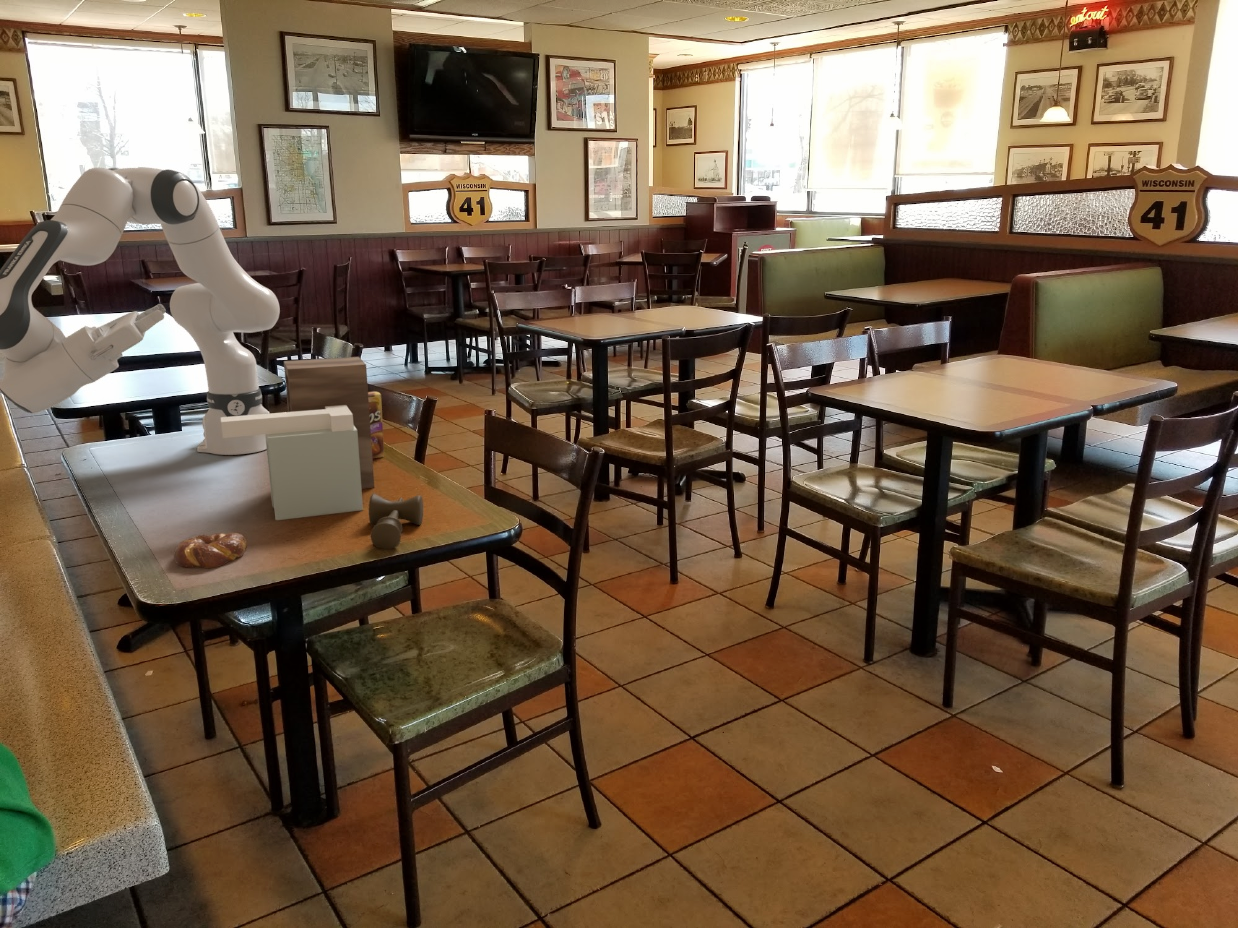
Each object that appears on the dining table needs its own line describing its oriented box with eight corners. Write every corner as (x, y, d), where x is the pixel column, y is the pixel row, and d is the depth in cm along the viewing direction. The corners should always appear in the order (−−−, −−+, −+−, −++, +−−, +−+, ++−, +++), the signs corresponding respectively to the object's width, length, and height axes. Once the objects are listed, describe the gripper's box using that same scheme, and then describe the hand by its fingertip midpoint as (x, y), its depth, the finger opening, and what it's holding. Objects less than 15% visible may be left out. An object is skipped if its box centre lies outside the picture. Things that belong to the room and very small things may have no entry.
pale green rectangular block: (272, 504, 186) (264, 425, 181) (355, 495, 192) (349, 418, 188) (276, 520, 177) (267, 437, 173) (362, 509, 183) (357, 430, 179)
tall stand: (294, 482, 200) (283, 361, 193) (366, 474, 206) (358, 356, 199) (299, 495, 191) (287, 369, 184) (374, 487, 197) (366, 364, 190)
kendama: (357, 553, 163) (376, 512, 182) (413, 553, 164) (427, 513, 183) (355, 521, 161) (375, 483, 180) (412, 521, 162) (426, 483, 181)
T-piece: (221, 430, 178) (220, 414, 177) (347, 419, 187) (346, 404, 186) (223, 441, 170) (221, 425, 169) (353, 429, 179) (352, 414, 178)
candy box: (347, 463, 215) (342, 397, 211) (341, 458, 218) (336, 394, 214) (385, 457, 220) (381, 393, 215) (379, 453, 223) (374, 390, 219)
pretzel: (231, 541, 167) (229, 521, 166) (261, 556, 160) (259, 536, 159) (162, 559, 159) (159, 538, 158) (191, 576, 152) (188, 554, 151)
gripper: (75, 345, 159) (148, 301, 162) (87, 329, 177) (153, 290, 180) (101, 376, 162) (173, 332, 164) (110, 357, 180) (175, 318, 182)
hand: (162, 310), depth 172 cm, fingers open, 8 cm apart
